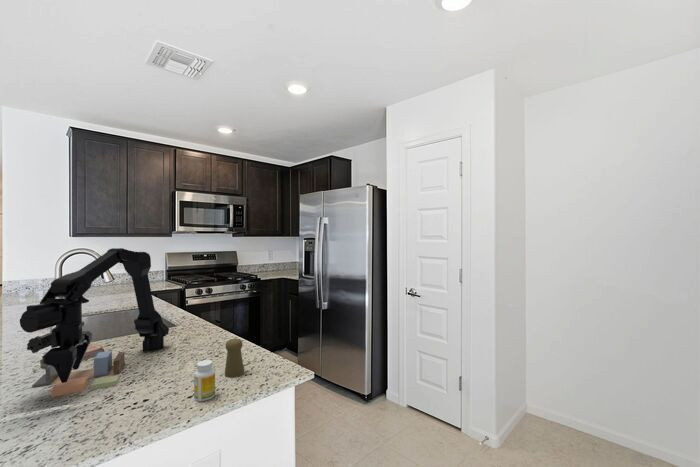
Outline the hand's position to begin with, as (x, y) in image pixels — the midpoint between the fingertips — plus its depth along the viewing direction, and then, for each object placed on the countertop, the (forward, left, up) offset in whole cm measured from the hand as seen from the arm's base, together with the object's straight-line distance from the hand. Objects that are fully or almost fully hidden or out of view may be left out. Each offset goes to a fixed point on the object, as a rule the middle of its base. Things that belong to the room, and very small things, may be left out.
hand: (70, 375), depth 93 cm
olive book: (-8, +1, -6) cm, 10 cm away
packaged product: (+7, -27, -6) cm, 28 cm away
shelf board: (0, -10, -5) cm, 12 cm away
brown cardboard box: (0, 0, -6) cm, 6 cm away
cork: (-44, +7, -5) cm, 45 cm away
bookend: (+9, -10, -4) cm, 14 cm away
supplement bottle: (-35, +19, -5) cm, 40 cm away
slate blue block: (-5, -10, -4) cm, 12 cm away
